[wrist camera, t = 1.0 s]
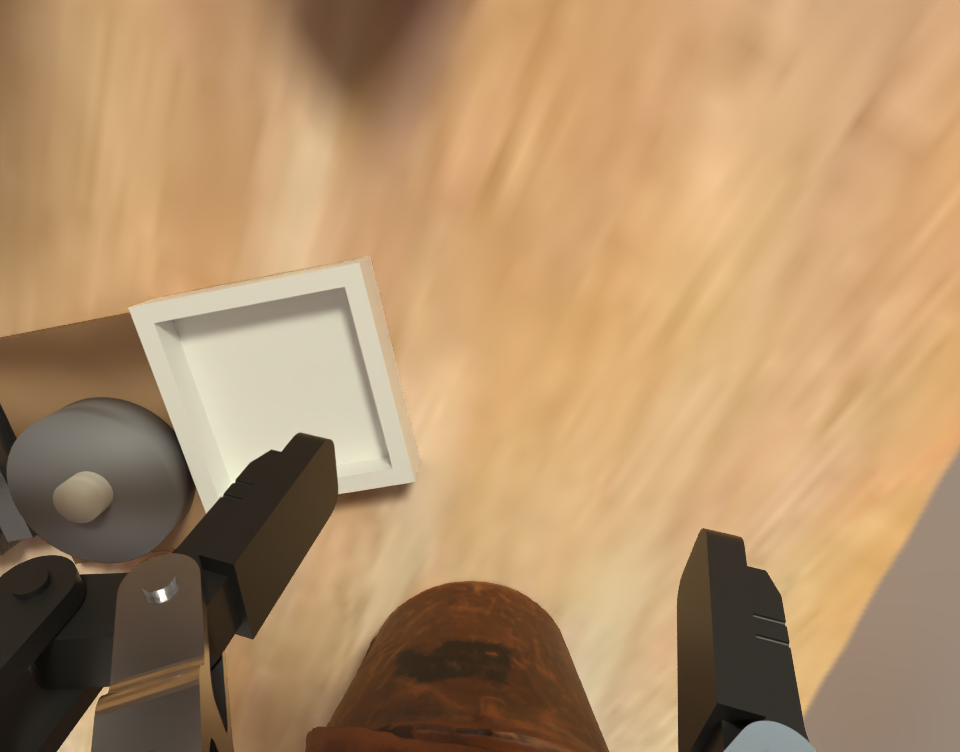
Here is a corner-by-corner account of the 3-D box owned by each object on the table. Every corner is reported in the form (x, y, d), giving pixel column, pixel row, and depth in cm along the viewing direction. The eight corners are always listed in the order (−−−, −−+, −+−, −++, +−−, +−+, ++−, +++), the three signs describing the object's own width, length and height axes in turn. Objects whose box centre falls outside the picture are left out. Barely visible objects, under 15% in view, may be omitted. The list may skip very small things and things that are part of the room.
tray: (155, 297, 33) (128, 307, 30) (370, 255, 32) (359, 262, 29) (226, 492, 36) (206, 514, 34) (420, 461, 35) (414, 481, 33)
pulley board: (-9, 339, 34) (-89, 364, 29) (158, 306, 33) (103, 328, 28) (88, 552, 38) (31, 603, 33) (238, 528, 37) (201, 578, 32)
